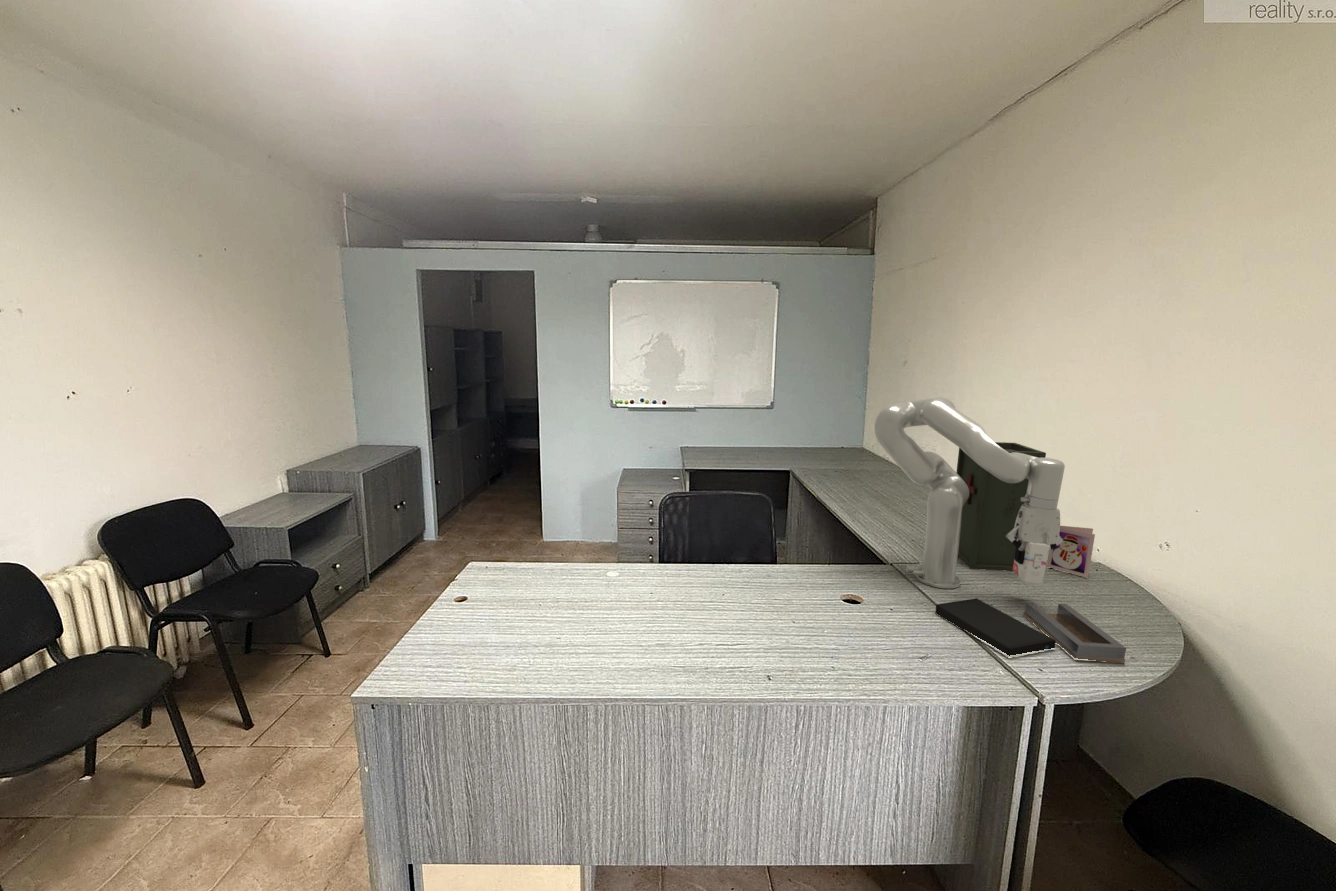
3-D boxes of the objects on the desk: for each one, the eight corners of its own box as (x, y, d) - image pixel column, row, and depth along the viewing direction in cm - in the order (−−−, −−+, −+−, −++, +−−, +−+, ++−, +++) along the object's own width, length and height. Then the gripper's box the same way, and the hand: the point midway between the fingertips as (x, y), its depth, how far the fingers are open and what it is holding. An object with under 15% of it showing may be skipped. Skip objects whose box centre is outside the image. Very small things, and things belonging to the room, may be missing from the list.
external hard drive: (976, 608, 154) (977, 598, 153) (1054, 651, 132) (1056, 640, 131) (935, 614, 150) (936, 604, 149) (1009, 660, 128) (1010, 648, 127)
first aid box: (947, 548, 198) (959, 441, 191) (1000, 551, 197) (1015, 442, 189) (970, 569, 180) (984, 451, 173) (1029, 571, 178) (1046, 452, 171)
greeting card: (1045, 568, 182) (1051, 525, 179) (1053, 563, 186) (1059, 521, 184) (1086, 579, 173) (1094, 534, 170) (1093, 574, 177) (1101, 530, 175)
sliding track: (1074, 660, 127) (1077, 645, 127) (1022, 615, 149) (1024, 601, 148) (1124, 663, 126) (1127, 648, 126) (1065, 617, 148) (1067, 604, 147)
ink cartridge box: (1011, 570, 160) (1019, 522, 157) (1029, 572, 159) (1038, 524, 156) (1023, 582, 152) (1032, 533, 149) (1043, 585, 151) (1053, 535, 148)
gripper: (1016, 504, 148) (1005, 566, 152) (1082, 508, 147) (1069, 571, 150) (1002, 496, 155) (991, 555, 159) (1064, 500, 154) (1053, 560, 158)
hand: (1029, 562), depth 155 cm, fingers closed on ink cartridge box, 5 cm apart
